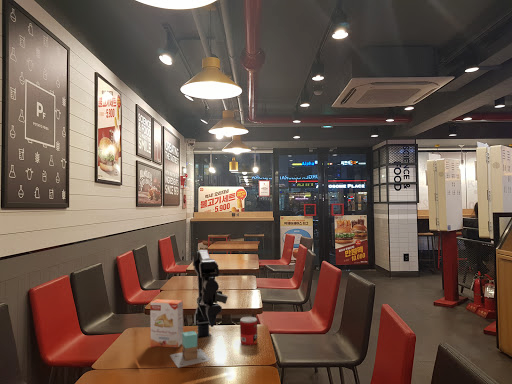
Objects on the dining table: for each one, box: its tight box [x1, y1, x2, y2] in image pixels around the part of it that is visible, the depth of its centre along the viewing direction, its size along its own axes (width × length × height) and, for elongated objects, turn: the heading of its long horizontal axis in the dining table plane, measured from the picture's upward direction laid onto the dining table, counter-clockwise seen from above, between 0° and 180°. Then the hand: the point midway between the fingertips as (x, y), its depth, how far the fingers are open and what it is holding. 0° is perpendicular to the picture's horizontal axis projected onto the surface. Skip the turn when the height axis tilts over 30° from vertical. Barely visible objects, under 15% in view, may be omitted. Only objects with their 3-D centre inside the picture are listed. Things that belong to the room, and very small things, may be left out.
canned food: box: [239, 316, 258, 346], centre depth 171 cm, size 8×8×11 cm
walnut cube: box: [181, 345, 198, 361], centre depth 153 cm, size 5×5×5 cm
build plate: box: [169, 348, 212, 369], centre depth 153 cm, size 14×14×1 cm
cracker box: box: [149, 298, 184, 348], centre depth 169 cm, size 14×6×21 cm, turn 76°
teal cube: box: [181, 330, 198, 348], centre depth 153 cm, size 5×5×5 cm
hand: (209, 323), depth 162 cm, fingers open, 9 cm apart
